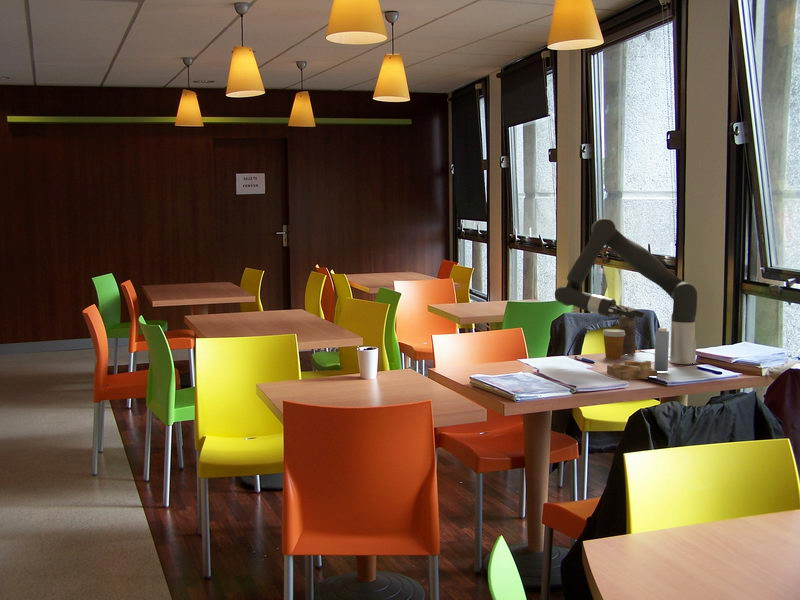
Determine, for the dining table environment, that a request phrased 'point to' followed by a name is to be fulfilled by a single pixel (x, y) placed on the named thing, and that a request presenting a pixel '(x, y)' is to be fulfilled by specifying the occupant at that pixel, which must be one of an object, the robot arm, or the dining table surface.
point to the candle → (628, 334)
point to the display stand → (632, 370)
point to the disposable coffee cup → (613, 343)
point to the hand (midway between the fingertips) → (639, 315)
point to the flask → (661, 349)
